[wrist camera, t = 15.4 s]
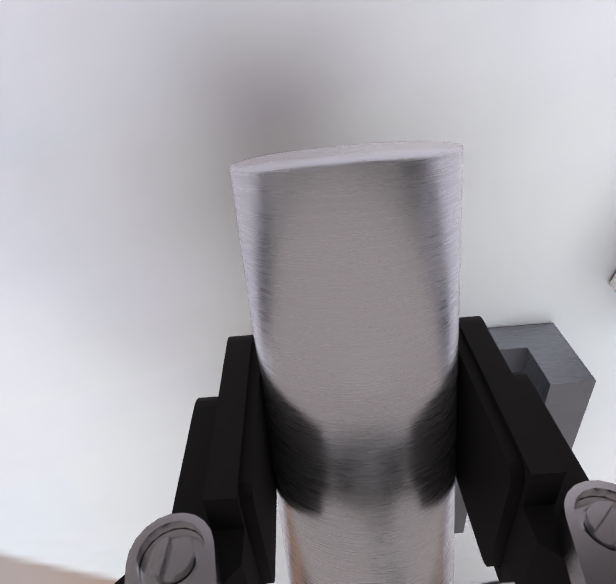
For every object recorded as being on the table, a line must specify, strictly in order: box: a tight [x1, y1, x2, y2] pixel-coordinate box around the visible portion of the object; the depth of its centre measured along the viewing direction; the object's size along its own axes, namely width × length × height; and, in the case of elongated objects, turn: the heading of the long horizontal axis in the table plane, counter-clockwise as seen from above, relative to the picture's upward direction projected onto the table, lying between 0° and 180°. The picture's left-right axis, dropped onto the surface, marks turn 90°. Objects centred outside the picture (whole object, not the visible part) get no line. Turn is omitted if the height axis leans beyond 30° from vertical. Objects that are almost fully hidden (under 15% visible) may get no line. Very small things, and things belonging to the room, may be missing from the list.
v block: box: [454, 323, 596, 533], centre depth 32 cm, size 14×8×5 cm, turn 4°
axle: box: [229, 141, 463, 584], centre depth 11 cm, size 14×4×4 cm, turn 4°
